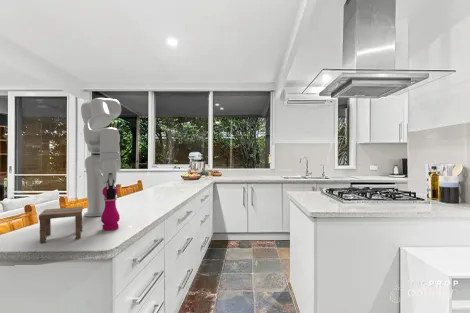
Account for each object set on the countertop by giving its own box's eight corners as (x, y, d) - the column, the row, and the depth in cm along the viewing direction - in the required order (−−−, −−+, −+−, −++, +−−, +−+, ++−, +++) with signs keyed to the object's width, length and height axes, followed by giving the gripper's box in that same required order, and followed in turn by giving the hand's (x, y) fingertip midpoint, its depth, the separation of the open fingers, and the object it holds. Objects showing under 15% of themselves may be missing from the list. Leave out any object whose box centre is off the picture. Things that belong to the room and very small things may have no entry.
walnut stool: (45, 234, 111) (45, 209, 111) (82, 230, 116) (82, 206, 117) (39, 243, 99) (38, 215, 99) (81, 238, 105) (80, 211, 105)
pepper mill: (112, 231, 115) (112, 182, 115) (97, 230, 116) (96, 182, 116) (123, 227, 122) (122, 181, 122) (108, 226, 123) (107, 180, 123)
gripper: (99, 157, 125) (100, 196, 125) (100, 156, 109) (100, 200, 109) (118, 157, 128) (118, 195, 128) (120, 156, 113) (121, 199, 112)
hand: (110, 197), depth 119 cm, fingers open, 9 cm apart
